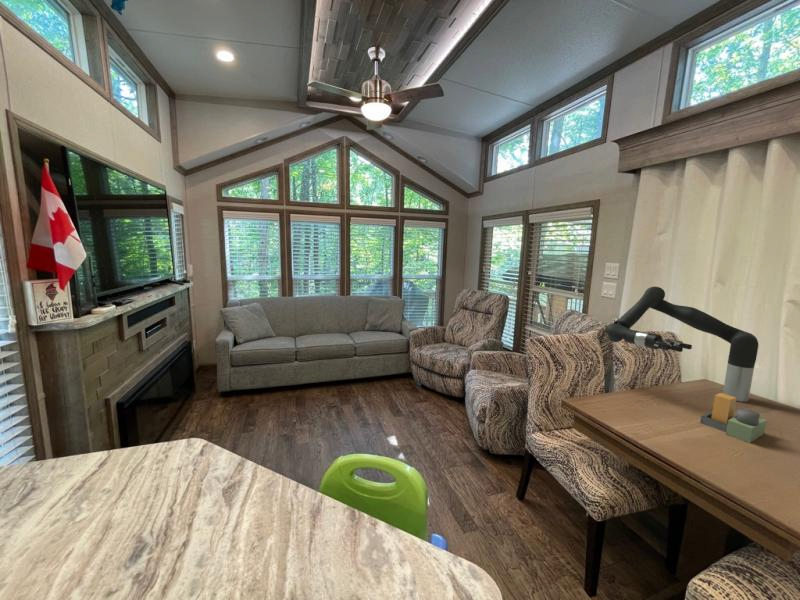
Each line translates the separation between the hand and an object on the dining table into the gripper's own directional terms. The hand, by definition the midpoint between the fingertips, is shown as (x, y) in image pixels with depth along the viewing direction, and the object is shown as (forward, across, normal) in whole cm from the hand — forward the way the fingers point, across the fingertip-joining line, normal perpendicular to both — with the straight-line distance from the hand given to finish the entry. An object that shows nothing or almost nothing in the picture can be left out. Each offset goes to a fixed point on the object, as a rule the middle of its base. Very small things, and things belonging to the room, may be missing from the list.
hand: (686, 348), depth 154 cm
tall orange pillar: (+17, +6, -28) cm, 33 cm away
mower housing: (+25, +6, -28) cm, 38 cm away
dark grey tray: (+17, +6, -28) cm, 33 cm away
